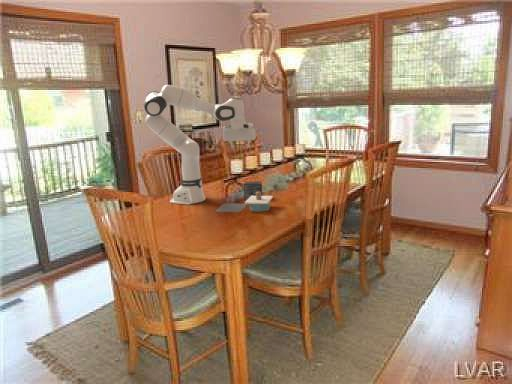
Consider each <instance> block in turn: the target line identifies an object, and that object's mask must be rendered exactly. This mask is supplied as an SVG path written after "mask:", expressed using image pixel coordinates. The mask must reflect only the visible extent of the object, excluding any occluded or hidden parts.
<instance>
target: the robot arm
mask: <svg viewBox="0 0 512 384" xmlns="http://www.w3.org/2000/svg"><path fill="white" fill-rule="evenodd" d="M169 105H170V106H174V107H177V108H180V109H184V110H198V111H200V112H204V113H206V114H208V115H211V116H212V117H213V118H214V119H215V120H217V121H220V122H226V121H229V120H230V125H224V126H223V127H222V140H223V141H224V142H228V143H229V145H230V148H231V149H235V144H233V141H234V142H237V141H238V142H239V141H246V143H247V144H246V145H245V148H247V149H249V148H250V143H251V141H254V140H256V138H257V136H256V135H257V134H256V131H255V128H254V123H252V122H249V121H246V118H245V105H244V101H243V100H242V99H241V98H238V97H237V98H236V97H230V98H229V99H228V100H227V101H225V102H224V103H211V102H208V101H205V100H203V99H202V98H199V97H198V96H197V95H196V94H195V93H193V92H192V91H190V90H188V89H186V88H183V87H181V86H176V85H172V84H165V85H164V86H163V87H162V88H161V89H160V92H159V91H151V92H149V93H148V94H147V95H146V97H145V99H144V104H143V109H144V111H145V112H146V113H147V115H146V117H145V119H144V124H145V125H146V126H147V127H148V129H150V130H151V132H153V133H154V134H155V135H157V136H158V137H159V139H162V140H163V141H164V142H165V143H166V144H168V145H169V146H170V147H172V148H173V149H174V150H175V151H177V152H178V153H179V154H180V156H181V168H180V169H181V174H182V175H181V176H182V179H181V180H179V184H180V185H179V186H178V187H177V188H176V189H175V190H174V191H173V194H172V197H171V199H169V200H170V201H169V203H170V204H178V205H179V204H180V205H193V204H197V203H202V202H204V201H206V196H205V193H204V190H203V181H202V175H201V169H200V146H199V144H198V142H197V141H195V140H193V139H191V137H189V136H188V135H186V134H185V133H184V132H183V131H182V130H181V129H179V127H177V126H176V125H175V124H173V122H171V121H170V120H169V119H167V118H166V117H165V115H163V113H164V111H165V109H166V108H167V106H169Z"/></svg>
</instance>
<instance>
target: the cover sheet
mask: <svg viewBox="0 0 512 384" xmlns="http://www.w3.org/2000/svg"><path fill="white" fill-rule="evenodd" d="M273 198H274V195H262V196H261V192H256V196H250V197H249V198H248V199H247V200H244V203H243V204H247V205H249V204H268V203H269V201H270V202H271V200H272V199H273Z"/></svg>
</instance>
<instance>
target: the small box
mask: <svg viewBox="0 0 512 384" xmlns="http://www.w3.org/2000/svg"><path fill="white" fill-rule="evenodd" d="M243 189H244V201H246V200H247V199H248V198H249V197H250V196H256V192H261V196H263V185H262V181H261V180H260V181H245V182H244V183H243Z"/></svg>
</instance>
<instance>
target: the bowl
mask: <svg viewBox="0 0 512 384" xmlns="http://www.w3.org/2000/svg"><path fill="white" fill-rule="evenodd" d="M270 208H271V200H270V201H269V203H268V204H248V209H249V211H252V212H257V213H258V212H260V213H261V212H266V211H267V212H268V211H269V210H270Z"/></svg>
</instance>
